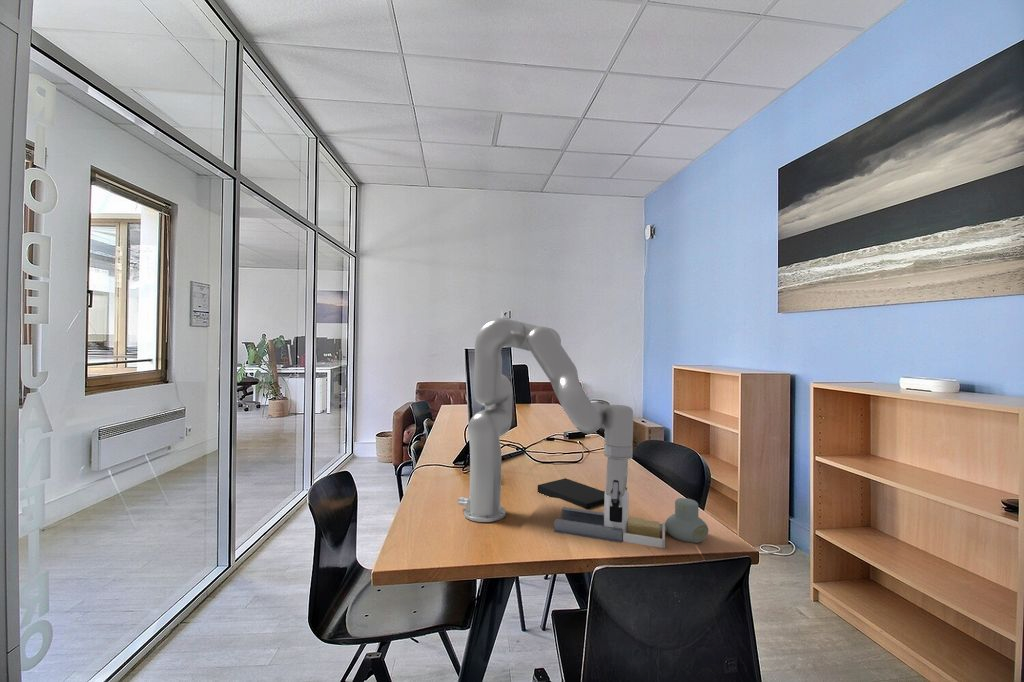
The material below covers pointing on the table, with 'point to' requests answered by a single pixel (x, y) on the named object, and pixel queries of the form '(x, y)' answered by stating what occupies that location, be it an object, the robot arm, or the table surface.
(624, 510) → the can
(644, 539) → the tray
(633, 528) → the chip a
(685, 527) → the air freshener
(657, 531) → the chip
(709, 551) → the table surface
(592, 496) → the external hard drive
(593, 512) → the slot rail
